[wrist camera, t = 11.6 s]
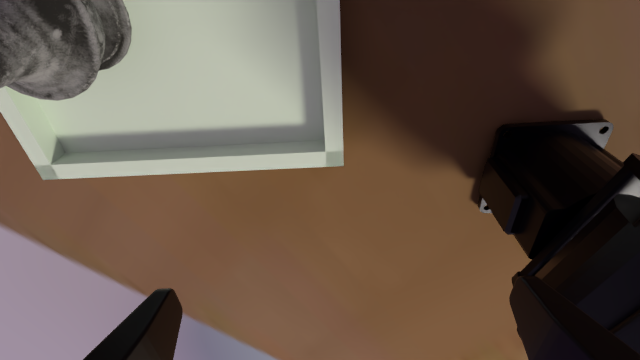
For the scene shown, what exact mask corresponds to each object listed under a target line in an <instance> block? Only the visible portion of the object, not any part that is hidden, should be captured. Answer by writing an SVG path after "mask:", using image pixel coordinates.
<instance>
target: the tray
mask: <svg viewBox="0 0 640 360" xmlns="http://www.w3.org/2000/svg"><path fill="white" fill-rule="evenodd" d="M123 2H124V4H125V7H126V9H127V11H128V14H129V18H130V23H131V27H132V32H131V44H130V46H129V49H128V52H127V54H126V55H125V57H124V58H123V59H122V60H121V61H120V62H119V63H118V64H116V65H114V66H113V67H111V68H109V69H105V70H100V71H98V74H97V77H96V79H95V81H94V82H93V83H92V84H91V86H90V87H89V88H88V89H87V90H86V91H84V92H83V93H81V94H79V95H77V96H75V97H74V98H69V99H64V100H59V101H56V100H43V99H38V98H34V97H31V96H28V95H24V94H21V93H19V92H17V91H15V90H13V89H11V88H9V87H7V86H4V87H2V88H0V112H1V113H2V115H3V117H4V118H5V120H6V121H7V123H8V125H9V126H10V128H11V129H12V131H13V133H14V134H15V136H16V137H17V139H18V141H19V142H20V144H21V145H22V147H23V149H24V150H25V152H26V153H27V155H28V156H29V158H30V160H31V161H32V163H33V164H34V166H35V168H36V169H37V171H38V172H39V174H40V176H41V177H42V179H43V180H50V179H71V178H93V177H115V176H136V175H158V174H179V173H201V172H223V171H244V170H266V169H287V168H309V167H331V166H344V162H343V119H342V77H341V35H340V0H123Z"/></svg>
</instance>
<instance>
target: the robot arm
mask: <svg viewBox="0 0 640 360" xmlns="http://www.w3.org/2000/svg"><path fill="white" fill-rule="evenodd" d="M602 127H603V129H601V128H602ZM600 129H601V130H600ZM599 130H600V131H599ZM612 130H613V124H612V123H610V122H609V121H607V120H604V119H599V120H580V121H560V122H540V123H520V124H505V125H502V126H501V127H499V128H498V130H497V132H496V135H495V139H494V143H493V147H492V151H491V155H490V157H489V158H488V160H487V161H486V164H485V168H484V172H483V176H482V180H481V184H480V188H479V193H480V197H479V201H478V207H479V209H480V211H481V212H483V213H493V215H494V217H495V218H496V220H497V221H498V223H499V224H500V226H501V228H502V229H503V231H504V232H505V233H507V234H508V235H509V234H513V235H514V236H515V238H516V239H517V241H518V242H519V244H520V245H521V247H522V248H523V250H524V251H525V253H526V255H527V256H528V258H530V259H532V260H531V262H530V263H529V264H528V265H527V266H526V267H525V268H524V269H523V270H522V271H521V272H517V273H516V274H515V275H514V276H513V277H512V284H513V289H512V291H511V294H510V305H511V308H512V311H513V314H514V317H515V320H516V324H517V331H518V335H519V337H520V338H521V340H522V342H523V345H524V348H525V351H526V354H527V356H528V359H529V360H640V155H637V154H634V153H632V154H631V155H630V156H629V157H628V158H627V159H626V160H625V161H624V162H621V161H620V160H618V159H617V158H616V157H614V156H613V155H611V154H610V153H609V152H607V151H606V150H605V149H604V147H605V145H606V143H607V141H608V139H609V137H610V134H611V132H612ZM506 131H509V133H508V134H507V135H504V133H505V132H506ZM503 135H504V136H503ZM485 205H487V206H485ZM484 206H485V207H484ZM181 319H182V306H181V304H180V302H179V299H178V297H177V295H176V293H175V291H174V290H173V289H171V288H168V289H157V290H155V291H154V292H153V293H152V294H151V295H150V296H149V297H148V298H147V299H146V300H145V301H144V302H142V303H141V304H140V305H139V306H138V307H137V308H136V309H135V310H134V311H133V312H132V313H131V314H130V315H129V316H128V317H127V318H126V319H125V320H124V321H123V322H122V323H121V324H120V325H119V326H117V328H116V329H114V330H113V331H112V332H111V333H110V334H109V335H108V336H107V337H106V338H105V339H104V340H103V341H102V342H101V343H100V344H99V345H98V346H97V347H96V348H94V350H92V351H91V352H90V353H89V354H88V355H87V356H86V357H85V358H84V359H83V360H173V357H174V352H175V347H176V343H177V338H178V332H179V328H180V324H181Z"/></svg>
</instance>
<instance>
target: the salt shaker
mask: <svg viewBox="0 0 640 360" xmlns="http://www.w3.org/2000/svg"><path fill="white" fill-rule="evenodd" d="M131 32H132V27H131V23H130V18H129V14H128V11H127V9H126V7H125V4H124V2H123V0H0V88H2V87H4V86H7V87H9V88H11V89H13V90H15V91H17V92H19V93H21V94H24V95H28V96H31V97H34V98H38V99H43V100H56V101H59V100H64V99H69V98H74V97H75V96H77V95H79V94H81V93H83V92H84V91H86V90H87V89H88V88H89V87H90V86H91V84H92V83H93V82H94V81H95V79H96V77H97V74H98V71H100V70H105V69H109V68H111V67H113V66H114V65H116V64H118V63H119V62H120V61H121V60H122V59H123V58H124V57H125V55H126V54H127V52H128V49H129V46H130V44H131Z"/></svg>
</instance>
